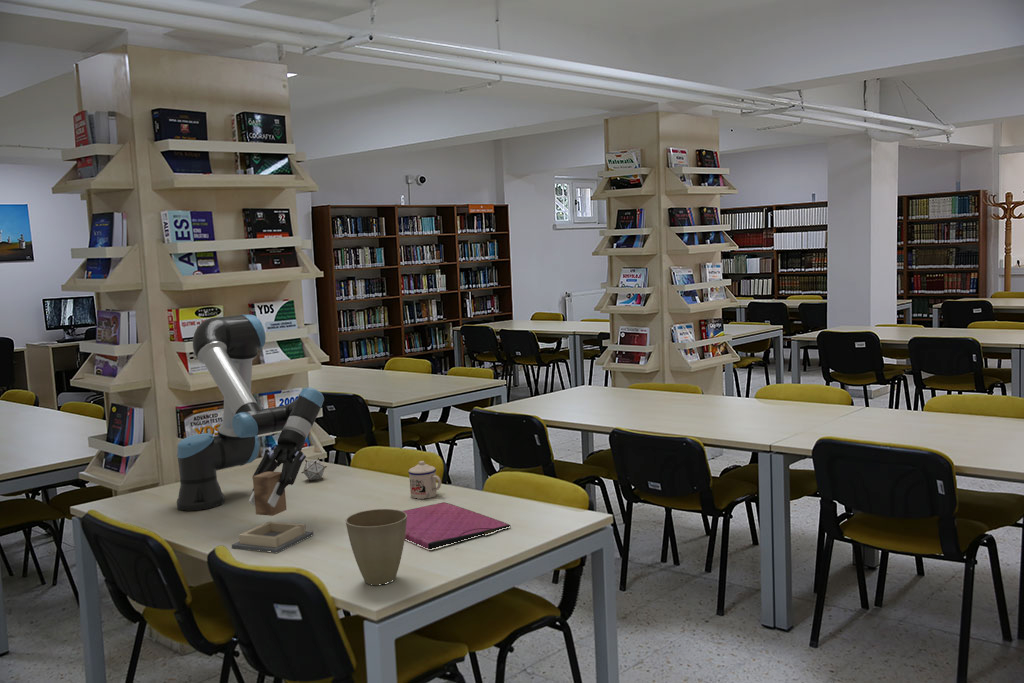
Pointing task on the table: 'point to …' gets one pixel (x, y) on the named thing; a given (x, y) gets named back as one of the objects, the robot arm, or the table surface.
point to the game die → (314, 469)
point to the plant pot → (377, 543)
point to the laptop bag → (446, 525)
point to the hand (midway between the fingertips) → (261, 503)
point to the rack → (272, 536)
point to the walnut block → (267, 493)
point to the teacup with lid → (423, 481)
